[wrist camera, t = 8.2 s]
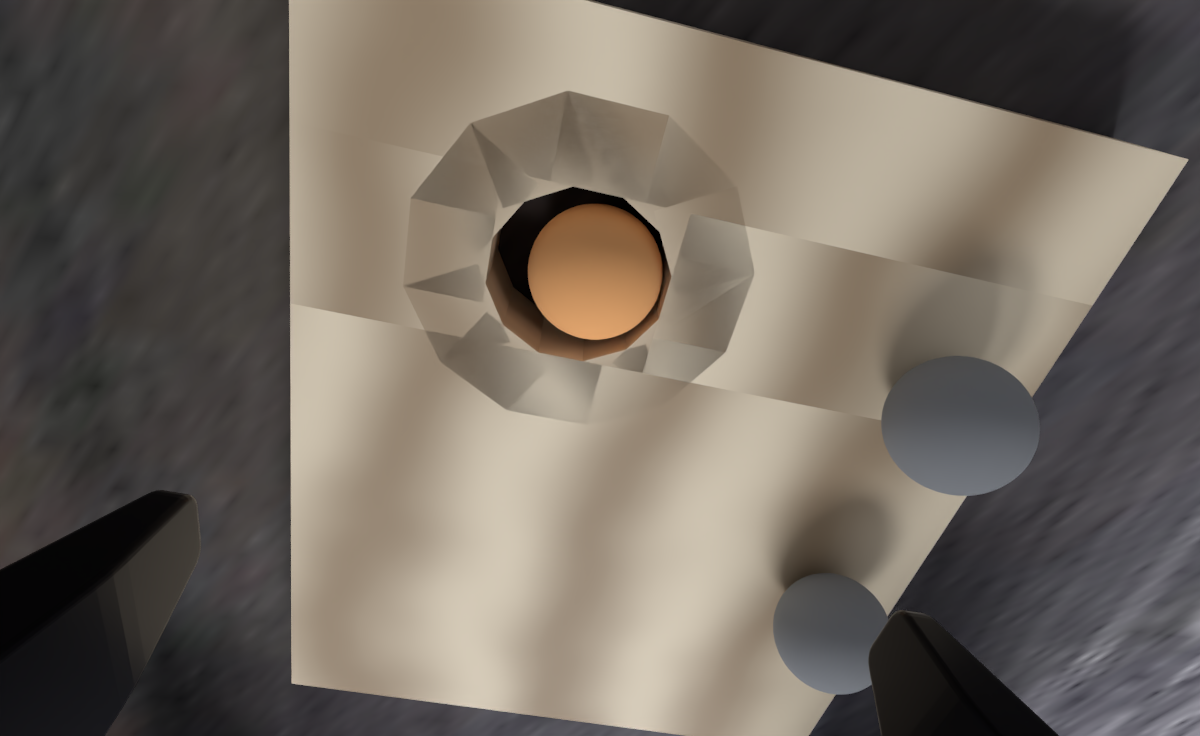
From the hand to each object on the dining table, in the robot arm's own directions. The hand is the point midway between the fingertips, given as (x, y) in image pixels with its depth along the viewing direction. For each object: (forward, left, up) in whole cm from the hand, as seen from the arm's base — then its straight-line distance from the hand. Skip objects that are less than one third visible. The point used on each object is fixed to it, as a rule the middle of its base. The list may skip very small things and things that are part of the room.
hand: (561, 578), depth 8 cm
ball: (0, 0, -10) cm, 10 cm away
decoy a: (-10, +9, -8) cm, 15 cm away
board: (-3, +6, -12) cm, 14 cm away
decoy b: (-10, +1, -8) cm, 13 cm away
